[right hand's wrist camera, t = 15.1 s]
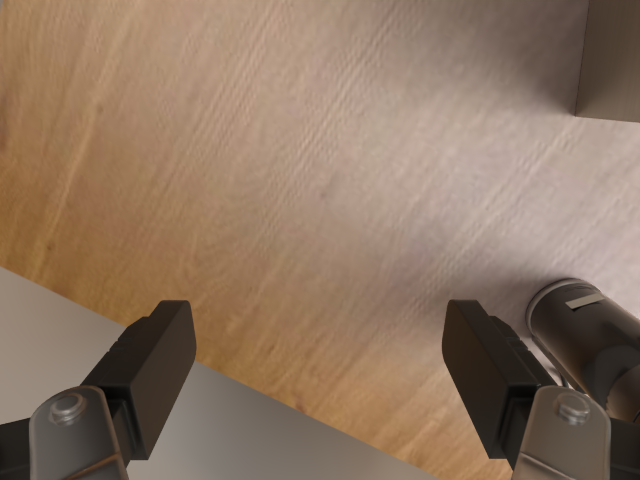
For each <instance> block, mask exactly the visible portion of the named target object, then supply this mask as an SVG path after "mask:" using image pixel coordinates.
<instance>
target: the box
mask: <svg viewBox="0 0 640 480" xmlns="http://www.w3.org/2000/svg"><path fill="white" fill-rule="evenodd" d="M575 117H585V118H595V119H606V120H616V121H627V122H637V123H640V0H590V3H589V11H588V19H587V27H586V35H585V42H584V50H583V58H582V66H581V74H580V82H579V89H578V97H577V105H576V113H575Z"/></svg>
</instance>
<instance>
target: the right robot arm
mask: <svg viewBox="0 0 640 480" xmlns="http://www.w3.org/2000/svg"><path fill="white" fill-rule="evenodd" d="M526 323H527V326H528V328H529V330H530V331H531V333H532V341H533V342H534V343H535V344H536V345H537V346H538V348H539V349H540V350H541V351H542V352H543V354H544V355H545V356H546V357H547V358H548V359H549V361H550V362H551V363H552V364H553V365H554V366H555V368H556V369H557V370H558V371H559V372H560V373H561V378H562V382H563V386H564V387H563V386H558V385H557V383H556V382H555V381H554V380H553V378H552V377H551V376H550V375H549V374H548V372H547V371H546V370H545V369H544V367H543V366H542V365H541V364H540V362H539V361H538V360H537V359H536V358H535V356H534V355H533V354H532V353H531V351H528V348H527V346H526V345H525V344H524V343H523V342H522V340H520V338H519V337H518V335H517V334H516V333H515V332H514V330H513V329H512V328H511V327H510V326H509V325H508V324H506V323H505V322H503V321H502V320H500V319H499V318H497V317H496V316H488V314H487V313H486V312H485V310H484V309H483V308H482V306H481V305H480V304H479V302H478V301H477V300H450V301H449V303H448V306H447V312H446V318H445V325H444V331H443V338H442V354H443V358H444V362H445V364H446V366H447V368H448V370H449V373H450V375H451V377H452V379H453V381H454V383H455V386H456V388H457V390H458V392H459V394H460V396H461V399H462V401H463V403H464V405H465V407H466V409H467V411H468V414H469V416H470V418H471V420H472V422H473V424H474V427H475V429H476V431H477V433H478V435H479V437H480V440H481V442H482V444H483V446H484V448H485V450H486V453H487V455H488V457H489V459H507V460H508V462H509V464H510V466H511V468H512V470H513V474H512V478H511V480H640V320H639V319H638V318H637V317H635V316H634V315H632V314H631V313H630V312H628V311H627V310H625V309H624V308H622V307H621V306H620V305H618V304H617V303H615V302H614V301H613V300H611V299H610V298H608V297H607V296H606V295H604V294H603V293H601V291H600V290H598V289H597V288H596V287H595V286H593V285H592V284H590V283H588V282H586V281H583V280H579V279H566V280H561V281H558V282H555V283H553V284H550V285H549V286H547V287H545V288H544V289H542V290H541V291H540V292H539V293H538V294H537V295H536V296H535V297H534V298H533V299H532V301H531V302H530V304H529V306H528V309H527V312H526ZM195 355H196V338H195V331H194V325H193V318H192V312H191V306H190V303H189V302H188V301H187V300H163V301H161V302H160V303H159V304H158V305H157V307H156V308H155V309H154V311H153V312H152V313H151V315H150V316H149V317H142V318H140V319H139V320H137V321H136V322H134V323H133V324H131V325H130V326H128V327H127V328H126V330H125V331H124V332H123V333H122V335H121V336H120V337H119V338H118V341H116V342H115V343H114V344H113V346H112V347H111V348H110V351H109V352H107V353H106V354H105V355H104V356H103V358H102V359H101V360H100V361H99V362H98V364H97V365H96V366H95V367H94V369H93V370H92V371H91V372H90V373H89V375H88V376H87V377H86V378H85V380H84V381H83V382H82V383H81V384H80V386H77V387H73V388H70V389H67V390H64V391H62V392H60V393H58V394H56V395H54V396H52V397H51V398H49V399H48V400H46V401H45V402H44V403H43V404H41V405H40V406H39V407H38V408H37V410H36V411H35V412H34V413H33V415H32V416H31V418H27V419H23V420H19V421H15V422H10V423H6V424H2V425H0V480H129V478H128V474H127V471H126V468H127V466H128V464H129V462H130V460H148V459H149V457H150V455H151V452H152V450H153V448H154V446H155V444H156V442H157V440H158V438H159V435H160V433H161V431H162V429H163V427H164V425H165V423H166V420H167V418H168V416H169V414H170V412H171V410H172V408H173V405H174V403H175V401H176V399H177V397H178V395H179V393H180V390H181V388H182V386H183V384H184V382H185V380H186V378H187V376H188V373H189V371H190V369H191V367H192V365H193V363H194V360H195ZM568 383H569V384H570V385H571V386H572V387H573V389H574V390H573V389H570V388H569V386H568ZM584 394H587V395H588V396H589V397H590V398H589V397H588V396H586V395H584Z"/></svg>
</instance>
